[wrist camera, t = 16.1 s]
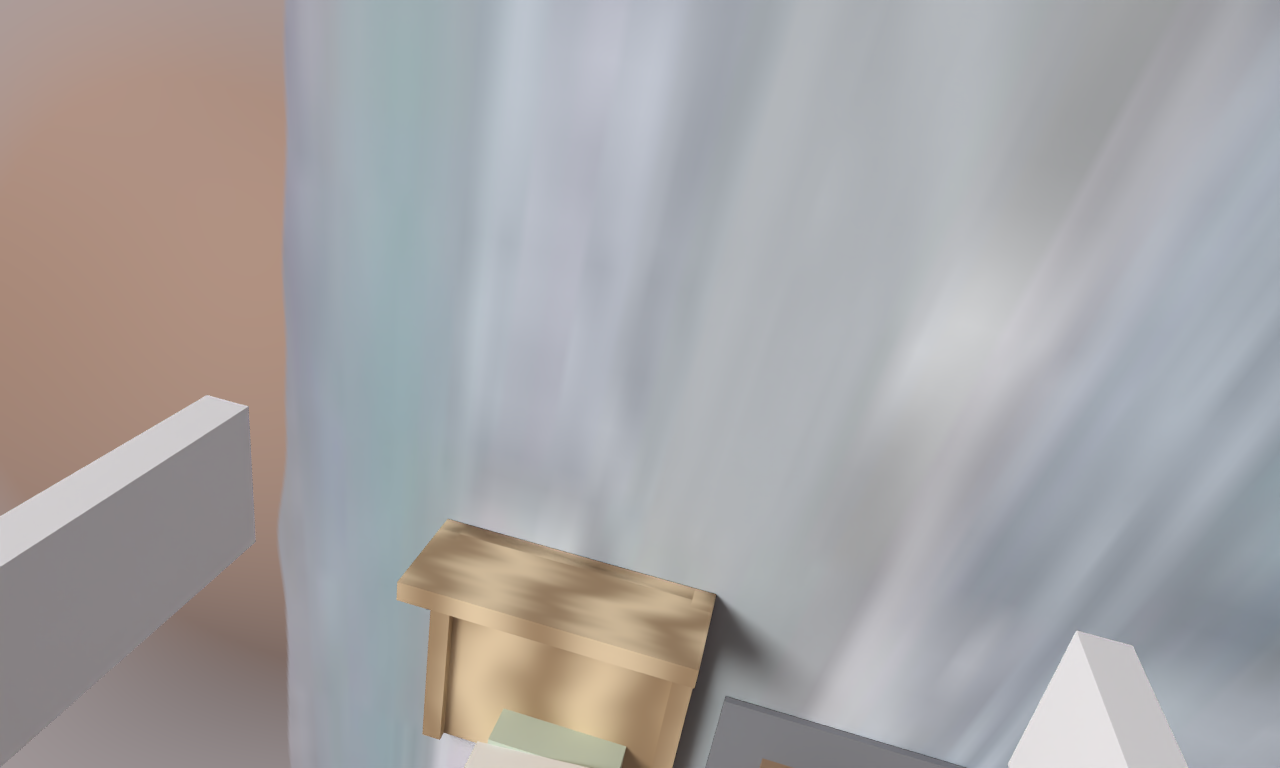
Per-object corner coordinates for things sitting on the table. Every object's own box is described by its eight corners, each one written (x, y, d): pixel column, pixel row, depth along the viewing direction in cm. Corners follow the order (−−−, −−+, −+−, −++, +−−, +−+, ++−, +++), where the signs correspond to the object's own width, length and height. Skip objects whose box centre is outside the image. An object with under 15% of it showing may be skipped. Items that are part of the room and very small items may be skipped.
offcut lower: (626, 746, 50) (616, 780, 48) (617, 785, 52) (607, 819, 50) (503, 708, 51) (488, 739, 49) (498, 747, 53) (483, 779, 51)
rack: (716, 594, 46) (698, 670, 40) (666, 789, 52) (645, 876, 47) (447, 519, 48) (397, 581, 42) (433, 715, 55) (388, 791, 49)
